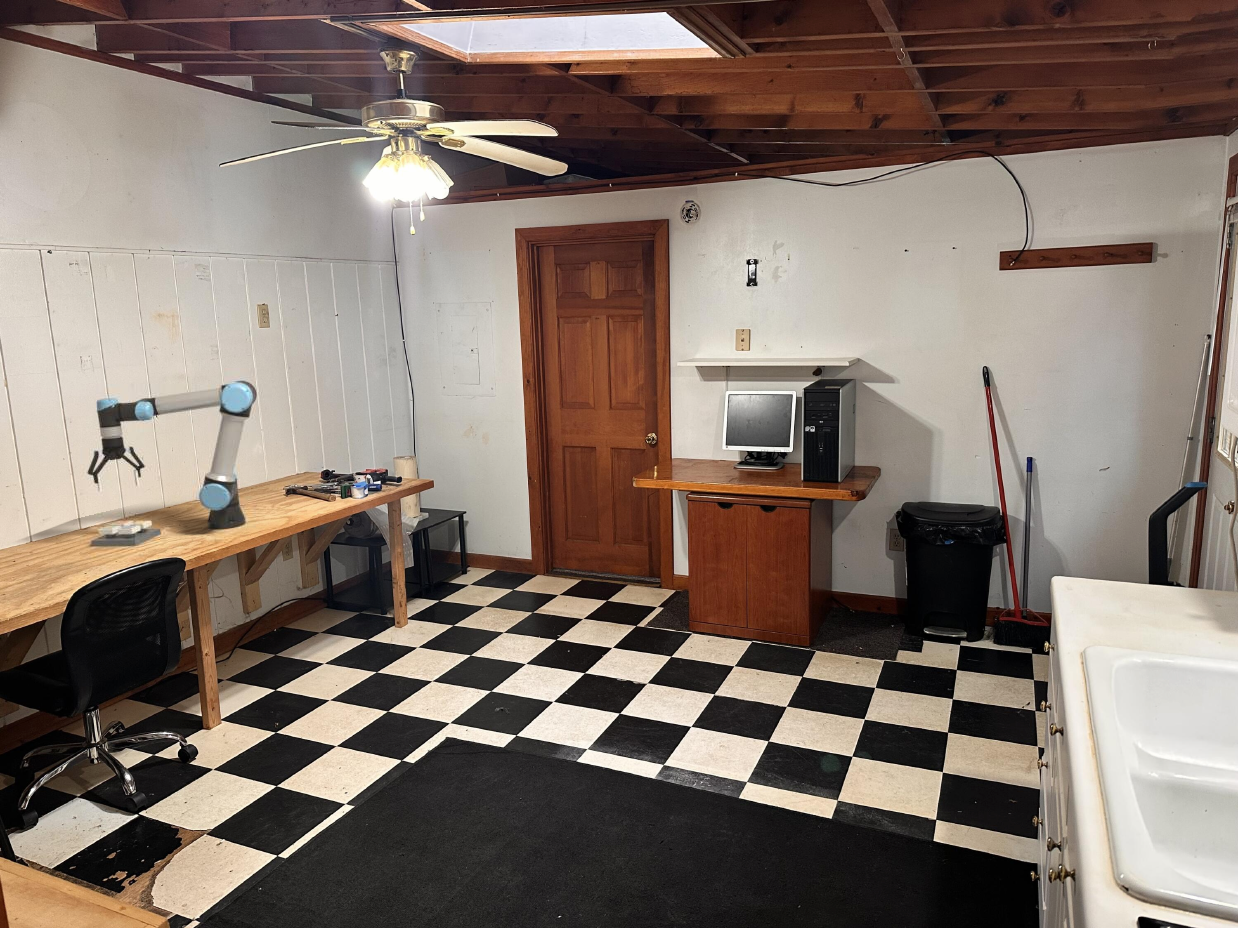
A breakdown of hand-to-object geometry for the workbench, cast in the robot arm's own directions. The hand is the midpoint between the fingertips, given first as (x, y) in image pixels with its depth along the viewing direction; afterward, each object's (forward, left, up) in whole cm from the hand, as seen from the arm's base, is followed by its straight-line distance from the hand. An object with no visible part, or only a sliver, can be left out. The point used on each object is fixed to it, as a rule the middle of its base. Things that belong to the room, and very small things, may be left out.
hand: (119, 488), depth 351 cm
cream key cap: (-5, -3, -19) cm, 20 cm away
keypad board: (-1, +1, -22) cm, 22 cm away
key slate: (-5, +5, -19) cm, 20 cm away
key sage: (+3, +5, -19) cm, 20 cm away
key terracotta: (+3, -3, -19) cm, 20 cm away
